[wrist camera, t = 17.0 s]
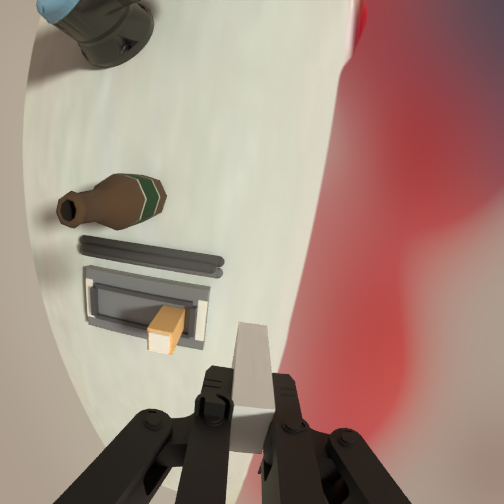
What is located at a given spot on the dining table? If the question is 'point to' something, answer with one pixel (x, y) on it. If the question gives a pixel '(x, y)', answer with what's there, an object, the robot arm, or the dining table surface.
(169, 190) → the dining table surface
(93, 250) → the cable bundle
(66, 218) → the beer bottle
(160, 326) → the block
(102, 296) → the grey rectangular tray
